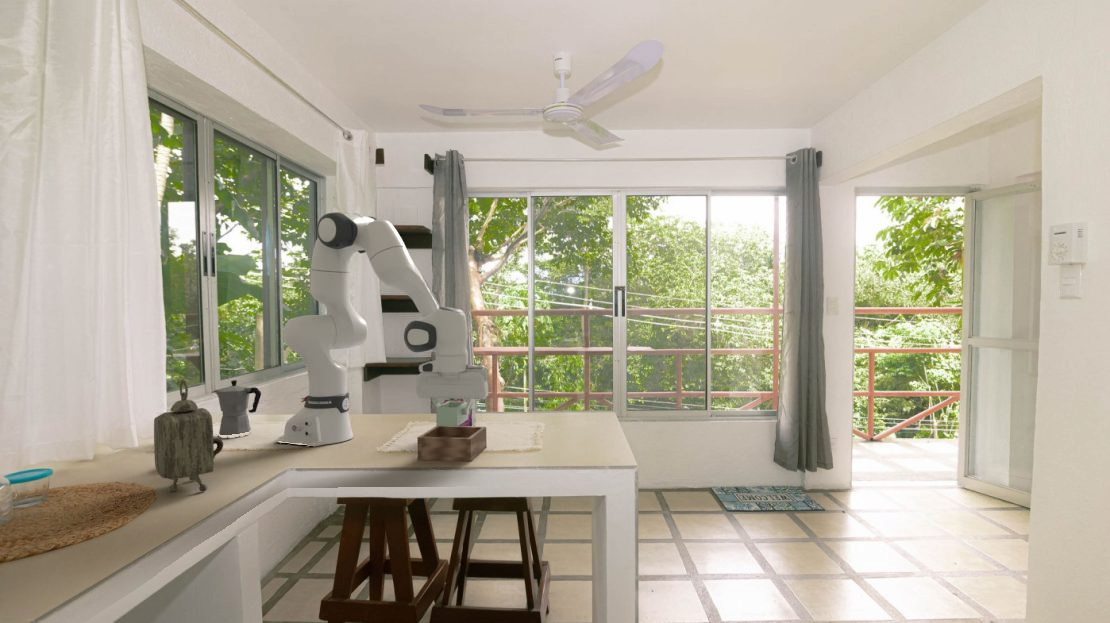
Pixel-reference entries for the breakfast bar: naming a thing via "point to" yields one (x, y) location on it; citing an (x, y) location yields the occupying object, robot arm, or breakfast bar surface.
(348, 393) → the robot arm
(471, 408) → the candy bar box
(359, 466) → the breakfast bar surface
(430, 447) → the walnut crate
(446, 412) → the sage crate
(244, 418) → the coffeepot
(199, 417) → the tabletop clock
